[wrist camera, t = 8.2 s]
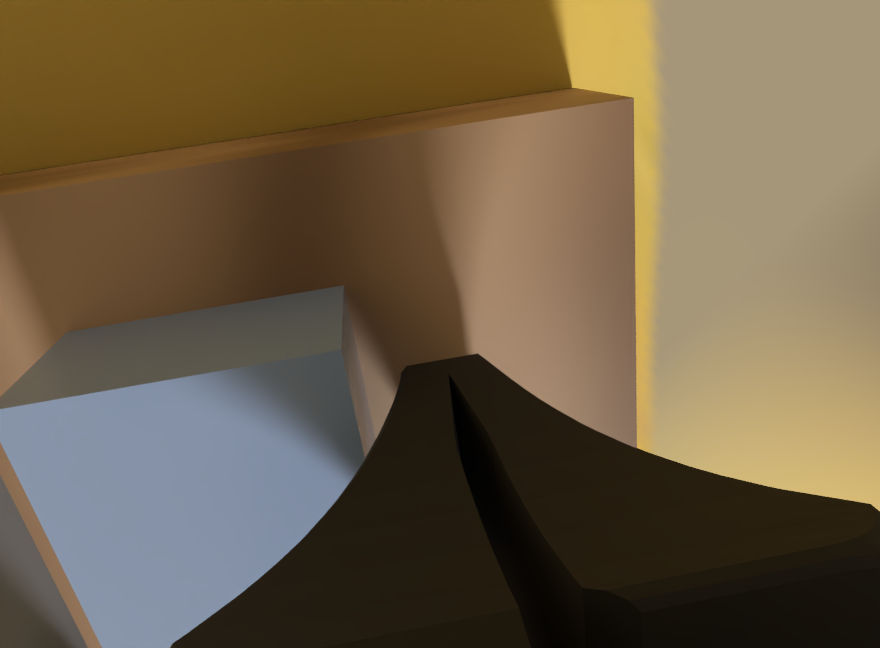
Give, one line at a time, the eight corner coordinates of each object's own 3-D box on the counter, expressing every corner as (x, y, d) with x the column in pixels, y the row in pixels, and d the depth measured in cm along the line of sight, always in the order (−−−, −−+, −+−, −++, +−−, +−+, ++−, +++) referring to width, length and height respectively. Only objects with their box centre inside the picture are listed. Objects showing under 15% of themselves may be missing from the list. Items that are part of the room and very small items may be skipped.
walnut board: (572, 87, 13) (633, 97, 10) (602, 735, 21) (640, 839, 18) (-21, 178, 12) (-132, 215, 9) (249, 812, 20) (232, 932, 17)
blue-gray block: (343, 285, 11) (341, 350, 8) (388, 500, 12) (396, 601, 10) (66, 332, 10) (-15, 411, 8) (153, 545, 12) (108, 660, 10)
